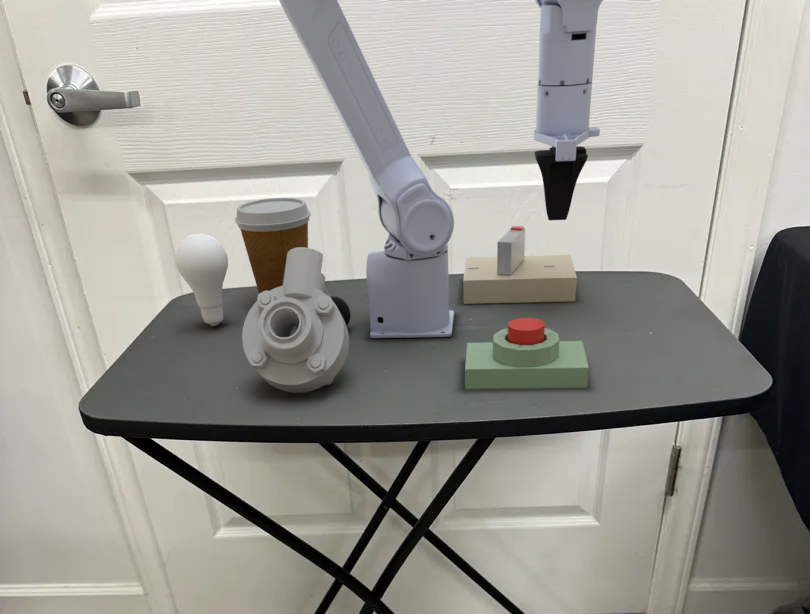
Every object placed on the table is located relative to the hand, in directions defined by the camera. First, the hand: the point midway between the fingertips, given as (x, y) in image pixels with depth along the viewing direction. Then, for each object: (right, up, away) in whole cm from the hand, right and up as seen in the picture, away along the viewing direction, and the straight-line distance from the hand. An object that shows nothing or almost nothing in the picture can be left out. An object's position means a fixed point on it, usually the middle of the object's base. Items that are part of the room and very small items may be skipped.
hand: (556, 218), depth 90 cm
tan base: (-3, -4, +12) cm, 13 cm away
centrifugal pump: (-28, -18, -4) cm, 33 cm away
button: (-6, -17, -12) cm, 22 cm away
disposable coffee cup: (-34, -5, +14) cm, 37 cm away
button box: (-5, -20, -10) cm, 23 cm away
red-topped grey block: (-4, -2, +10) cm, 11 cm away
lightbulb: (-42, -10, +7) cm, 44 cm away
